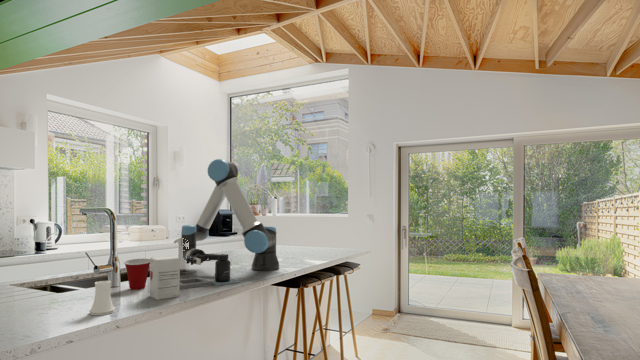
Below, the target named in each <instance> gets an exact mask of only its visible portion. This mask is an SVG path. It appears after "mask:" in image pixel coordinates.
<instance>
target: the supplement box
mask: <svg viewBox="0 0 640 360" xmlns="http://www.w3.org/2000/svg"><path fill="white" fill-rule="evenodd" d="M149 259H150V265H149V293H148V294H149V297H151V298H152V299H154V300H158V301H159V300H165V299H171V298H178V297H180V288H179V280H180V276H181V274H180V272H181V268H180V267H181V259H180V257H177V256H174V255H167V256H154V257H153V256H152V257H149Z"/></svg>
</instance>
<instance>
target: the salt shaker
mask: <svg viewBox="0 0 640 360" xmlns="http://www.w3.org/2000/svg"><path fill="white" fill-rule="evenodd" d="M111 284H112V281H111V280H99V281H95V282H94V288H95V290H94V292H95V293H94V298H93V303H92V306H91V308H90V309H89V312H88V313H89V315H91V316H104V315H106V316H107V315H109V314H113V313H115V312H116V307H114V304H113V302H112V297H111V296H112V295H111V286H112V285H111Z"/></svg>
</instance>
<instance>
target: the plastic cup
mask: <svg viewBox="0 0 640 360" xmlns="http://www.w3.org/2000/svg"><path fill="white" fill-rule="evenodd" d="M123 264H124V265H125V269H126V274H127V280H128V284H129V286H128V287H129V289H130V290H131V291H133V290H134V291H138V290H144V289H145V287H146V283H147V279H148V274H149V271H150V258H133V259H132V258H131V259H127V260H125V261H123Z"/></svg>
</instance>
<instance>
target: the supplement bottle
mask: <svg viewBox="0 0 640 360" xmlns="http://www.w3.org/2000/svg"><path fill="white" fill-rule="evenodd" d="M218 254H219V253H218ZM230 279H231V261H230V260H229V254H228V253H221V254H219V255H218V260H215V263H214V280H215V281H216V282H228V281H230Z"/></svg>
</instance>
